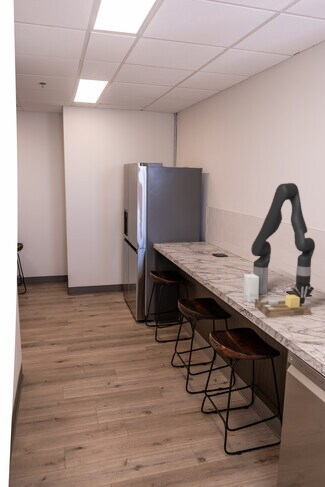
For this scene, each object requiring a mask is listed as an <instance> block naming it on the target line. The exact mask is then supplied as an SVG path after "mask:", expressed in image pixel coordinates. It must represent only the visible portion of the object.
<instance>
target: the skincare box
mask: <svg viewBox="0 0 325 487" xmlns="http://www.w3.org/2000/svg"><path fill="white" fill-rule="evenodd" d="M259 295H260V294H259V277H258V276H256V275H255V274H253V273H245V274H243V299H244V300H245V301H247V303H250V304H251V303H255V299H257V300H258V301H259Z"/></svg>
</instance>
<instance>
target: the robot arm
mask: <svg viewBox="0 0 325 487" xmlns="http://www.w3.org/2000/svg"><path fill="white" fill-rule="evenodd" d="M287 200H288V201H289V202H290V205H291V216H290V224H291V226H292V230H293V234H294V245H295V248H296V249H297V251H299V252H301V254H300V255H298V257H297V265H296V271H295V285H294V286H293V287H291V291H292V292H293V294H294V295H296V296H298V297H300V304H302V305H304V304H305V303H306V297H309V296H310V295H311V293H312V292H313V290H314V289H315V288H314V287H313V286H311V277H312V276H311V275H312V274H311V273H312V266H311V265H312V258H313V256H314V252H315V249H316V248H315V247H316V243H315V241H314V239H313V238H311V237H306V236H305V235H306V233H308V227H307V224H306V221H305V217H304V215H303V209H302V203H301V198H300V190H299V188H298V185H297V184H296V183H294V182H288V183H287V182H286V183H280V184H279V185H278V186H277V188H276V189H275V192H274V195H273V198H272V202H271V205H270V207H269V210H268V212H267V214H266V216H265V218H264V221H263V223H262V225H261V228H260V230H259V232H258V234H257V236H256V238H255V239H254V241H253V243H252V245H251V248H250V249H251V254H252V256H254V257H258V258H257V259H255V260H254V261H253V269H252V274H255V275H256V276H258V277H259V295H265V294H267V293H268V284H269V283H268V281H269V264H270V262H271V254H272V253H271V252H272V246H271V244H270V242H269V241H267V240H268V239H269V238H271V236H272V235H274V234H275V233H276V232H277V231H278V229H279V228H280V225H281V224H282V221H283V214H282V207H283V205H284V203H285V201H287Z"/></svg>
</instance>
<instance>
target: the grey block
mask: <svg viewBox="0 0 325 487" xmlns="http://www.w3.org/2000/svg"><path fill="white" fill-rule="evenodd" d="M278 301H279V300H276V299H268V301H267V302H268V304H270V305H276V304H278Z"/></svg>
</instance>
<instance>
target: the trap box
mask: <svg viewBox="0 0 325 487" xmlns="http://www.w3.org/2000/svg"><path fill="white" fill-rule="evenodd" d="M277 301H278V304H276V305H270V304H268V301H260V300H259V299H258V300H257V299H255V302H254V307H255V308H256V310H258V311H259V312H261V313H262V314H263V315H264V316H265V317H266V318H279V317H280V318H281V317H295V316H309V315H310V316H311V314H312V313H311V312H312V311H311V309H309V308H308V307H307V306H305V305H304V304H299V307H296V308H290V307H288V306H287V305H285V300H277Z"/></svg>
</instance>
